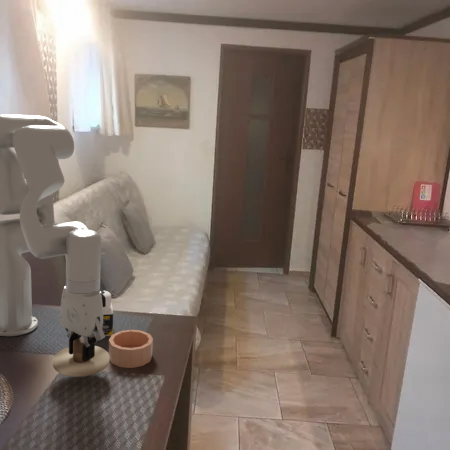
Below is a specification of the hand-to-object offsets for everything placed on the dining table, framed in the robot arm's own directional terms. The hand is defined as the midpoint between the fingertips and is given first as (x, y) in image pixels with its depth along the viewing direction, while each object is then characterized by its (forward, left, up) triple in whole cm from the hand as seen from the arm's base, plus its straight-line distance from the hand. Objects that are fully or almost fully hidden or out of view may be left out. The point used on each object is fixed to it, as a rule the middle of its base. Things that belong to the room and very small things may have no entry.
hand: (81, 354), depth 114 cm
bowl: (+2, +15, -6) cm, 16 cm away
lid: (0, 0, -2) cm, 2 cm away
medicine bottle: (-15, +20, -6) cm, 26 cm away
